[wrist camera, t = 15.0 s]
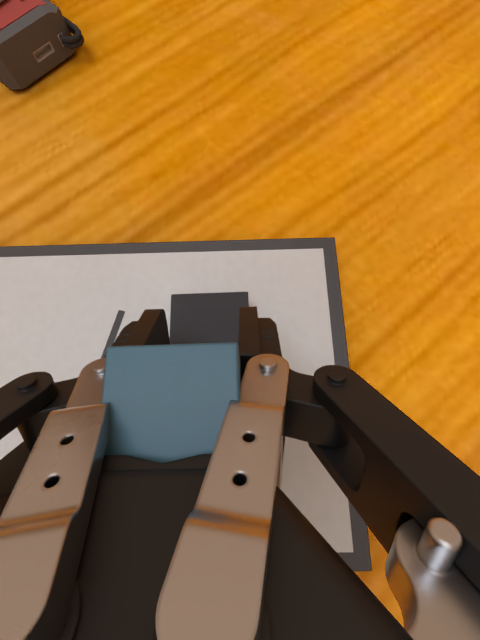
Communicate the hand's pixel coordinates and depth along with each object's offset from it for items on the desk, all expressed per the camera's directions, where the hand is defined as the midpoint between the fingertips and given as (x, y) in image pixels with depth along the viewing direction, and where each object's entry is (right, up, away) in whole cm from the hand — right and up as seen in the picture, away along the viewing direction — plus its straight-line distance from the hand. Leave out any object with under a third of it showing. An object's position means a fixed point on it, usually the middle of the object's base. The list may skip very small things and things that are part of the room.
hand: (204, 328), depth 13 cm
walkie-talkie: (-19, +26, +14) cm, 35 cm away
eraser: (0, -4, +3) cm, 5 cm away
